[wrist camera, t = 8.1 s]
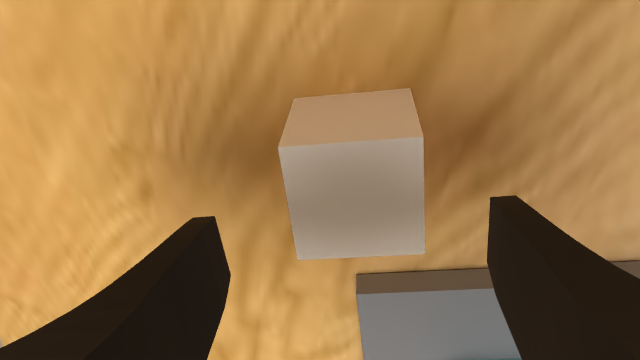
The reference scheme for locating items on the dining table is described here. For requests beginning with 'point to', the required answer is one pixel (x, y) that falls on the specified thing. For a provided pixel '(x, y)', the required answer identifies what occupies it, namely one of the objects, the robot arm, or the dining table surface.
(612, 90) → the dining table surface
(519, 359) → the teal cube
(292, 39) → the dining table surface
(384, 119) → the cream cube
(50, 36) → the dining table surface
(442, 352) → the plate
